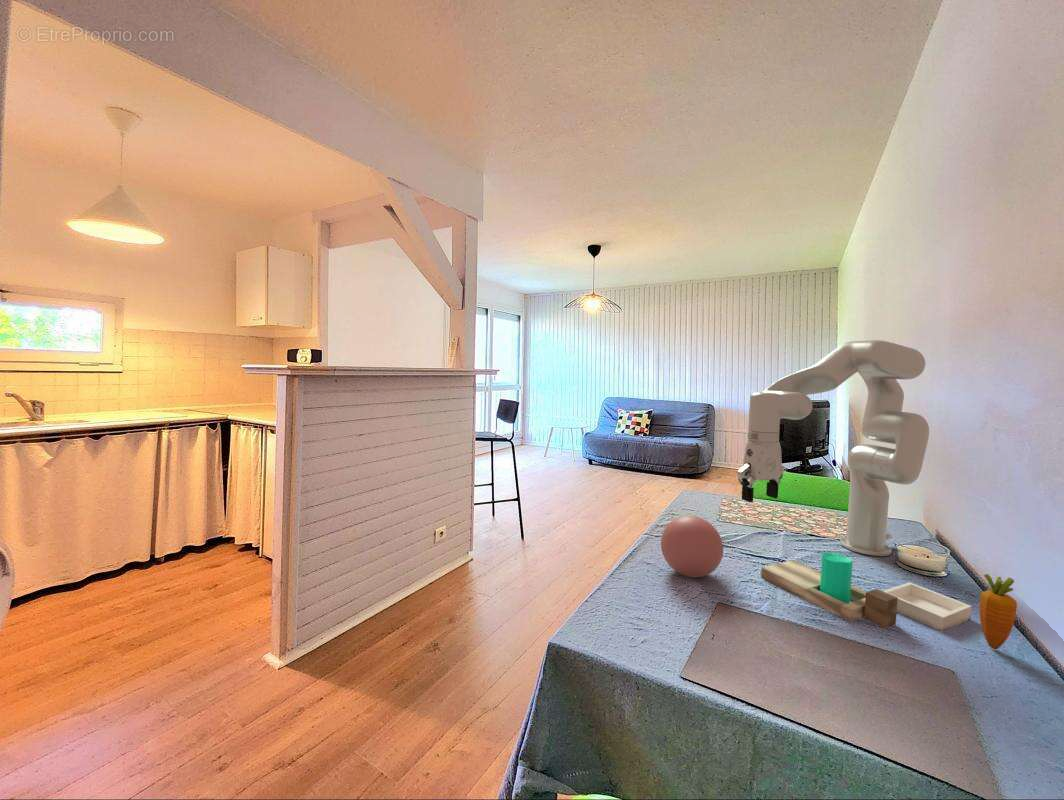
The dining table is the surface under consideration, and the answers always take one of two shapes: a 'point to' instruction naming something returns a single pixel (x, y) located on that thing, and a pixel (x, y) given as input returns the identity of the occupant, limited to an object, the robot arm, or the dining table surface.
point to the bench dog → (880, 608)
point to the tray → (929, 606)
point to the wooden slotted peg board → (814, 588)
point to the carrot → (997, 611)
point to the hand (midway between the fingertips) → (759, 498)
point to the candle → (836, 576)
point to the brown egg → (692, 546)
